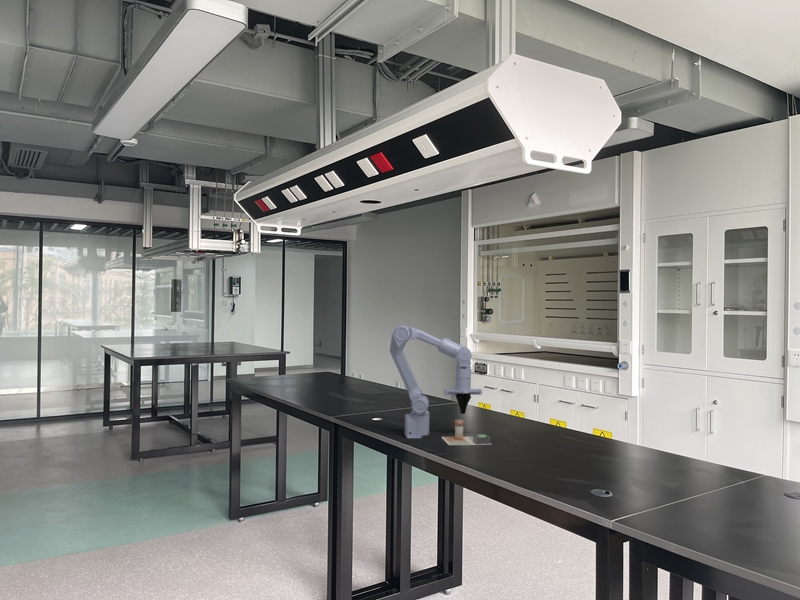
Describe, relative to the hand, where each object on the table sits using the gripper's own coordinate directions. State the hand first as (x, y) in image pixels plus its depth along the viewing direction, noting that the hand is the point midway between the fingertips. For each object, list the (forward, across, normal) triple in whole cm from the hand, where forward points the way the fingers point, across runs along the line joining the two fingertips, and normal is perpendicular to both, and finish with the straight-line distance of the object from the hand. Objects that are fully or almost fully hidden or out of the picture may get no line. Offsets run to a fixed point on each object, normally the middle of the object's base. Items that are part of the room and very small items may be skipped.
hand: (462, 413), depth 222 cm
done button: (+7, +4, -13) cm, 15 cm away
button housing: (+8, +4, -12) cm, 16 cm away
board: (+9, -1, -9) cm, 13 cm away
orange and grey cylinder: (+8, -3, -7) cm, 11 cm away
